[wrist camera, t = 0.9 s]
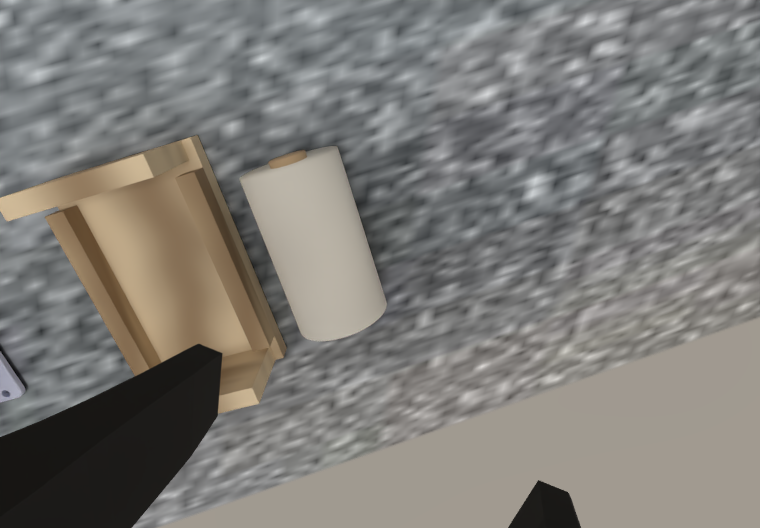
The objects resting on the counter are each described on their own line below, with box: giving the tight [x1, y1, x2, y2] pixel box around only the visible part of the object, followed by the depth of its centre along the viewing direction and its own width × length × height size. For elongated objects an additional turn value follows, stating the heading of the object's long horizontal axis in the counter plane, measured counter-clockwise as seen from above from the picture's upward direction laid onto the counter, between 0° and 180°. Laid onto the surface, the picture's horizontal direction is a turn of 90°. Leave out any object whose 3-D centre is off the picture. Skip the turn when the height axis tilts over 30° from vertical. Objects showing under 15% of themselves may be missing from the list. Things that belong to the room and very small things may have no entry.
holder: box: [0, 135, 287, 413], centre depth 25 cm, size 8×13×5 cm, turn 16°
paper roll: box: [239, 146, 387, 341], centre depth 24 cm, size 9×5×5 cm, turn 16°
